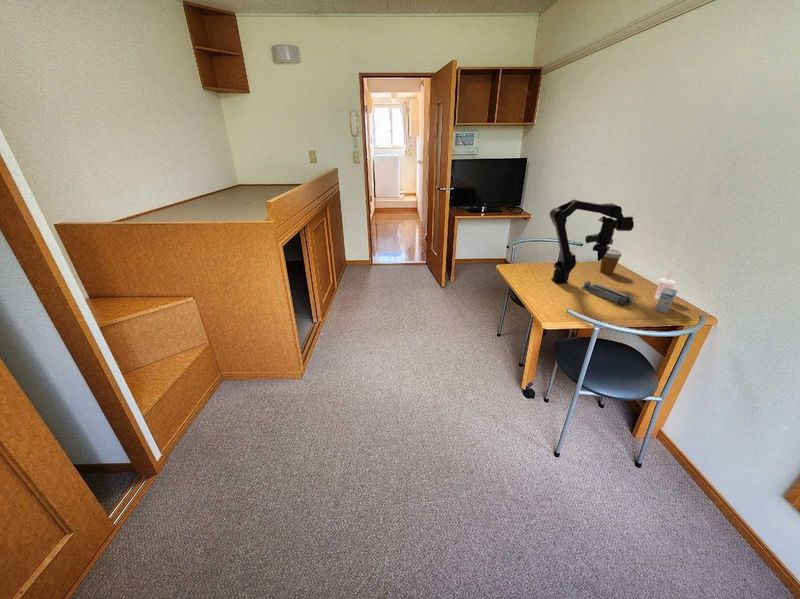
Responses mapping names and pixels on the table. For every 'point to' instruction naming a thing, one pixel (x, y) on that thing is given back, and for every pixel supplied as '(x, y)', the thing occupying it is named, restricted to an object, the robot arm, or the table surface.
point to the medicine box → (665, 300)
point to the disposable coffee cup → (609, 261)
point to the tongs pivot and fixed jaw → (605, 294)
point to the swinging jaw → (615, 292)
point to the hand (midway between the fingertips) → (598, 260)
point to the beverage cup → (664, 285)
